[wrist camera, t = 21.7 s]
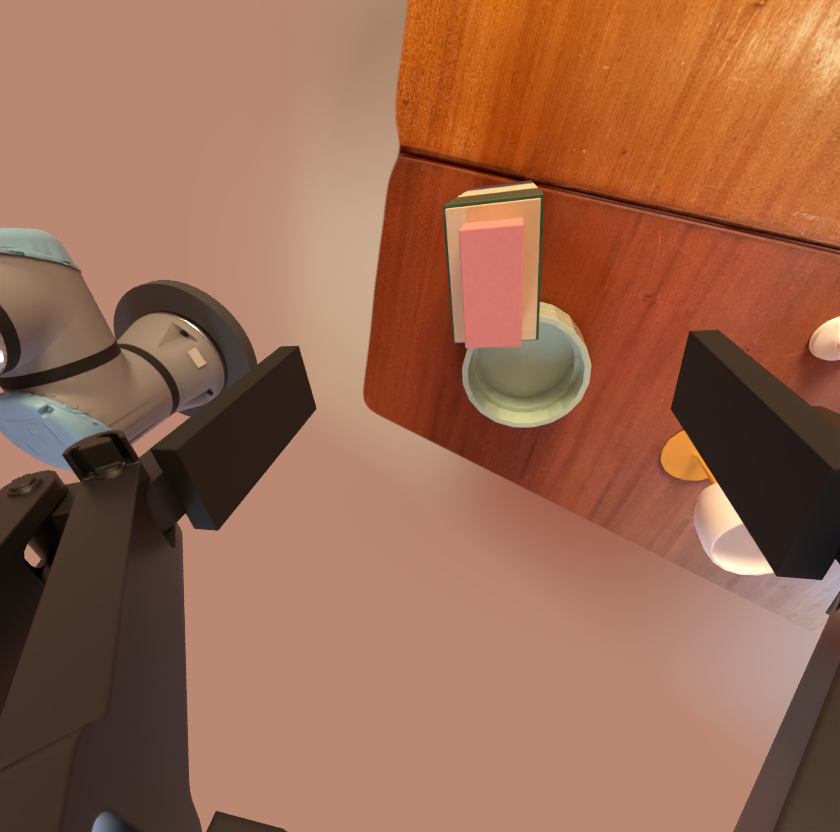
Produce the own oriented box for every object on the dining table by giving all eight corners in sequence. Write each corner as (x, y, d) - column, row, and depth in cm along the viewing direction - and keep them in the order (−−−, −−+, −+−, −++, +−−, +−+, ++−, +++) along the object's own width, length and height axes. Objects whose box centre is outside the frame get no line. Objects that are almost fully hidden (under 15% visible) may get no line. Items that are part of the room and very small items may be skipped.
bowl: (470, 403, 57) (465, 426, 52) (464, 302, 50) (458, 318, 45) (577, 403, 54) (584, 428, 49) (588, 295, 46) (597, 311, 41)
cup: (645, 462, 56) (685, 554, 43) (694, 414, 51) (757, 502, 38) (700, 489, 57) (757, 589, 44) (755, 444, 52) (837, 542, 39)
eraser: (464, 223, 25) (458, 229, 22) (523, 217, 24) (523, 223, 21) (469, 332, 28) (465, 349, 26) (520, 330, 27) (521, 347, 25)
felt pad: (455, 340, 29) (454, 342, 29) (445, 208, 25) (444, 209, 24) (535, 337, 28) (535, 339, 28) (540, 197, 24) (540, 198, 23)
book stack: (476, 274, 48) (453, 343, 29) (473, 187, 43) (442, 205, 25) (529, 270, 46) (538, 340, 28) (531, 180, 42) (544, 193, 23)
